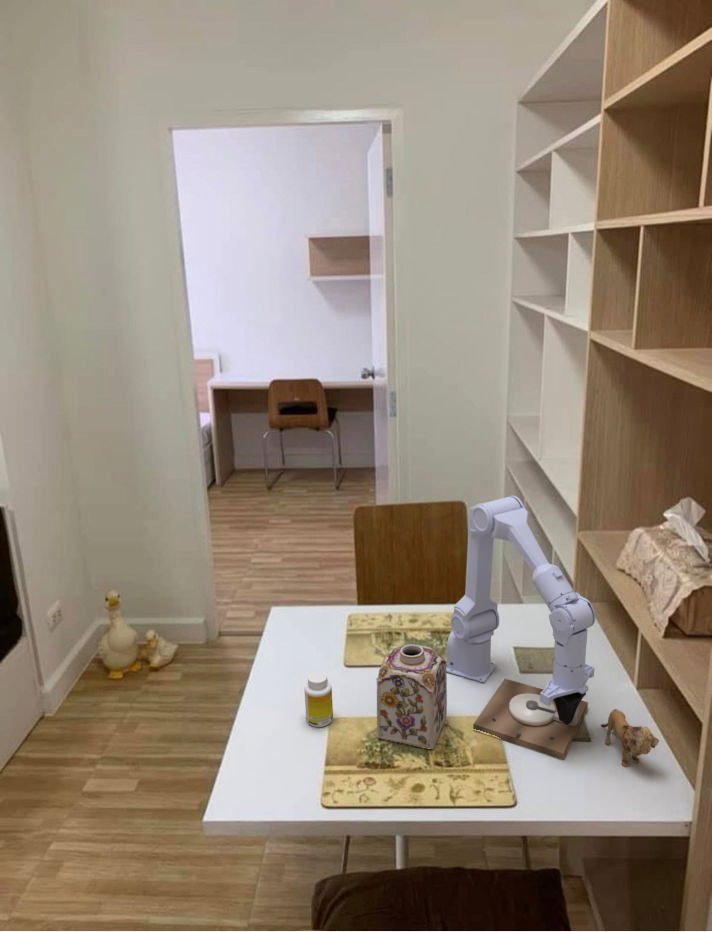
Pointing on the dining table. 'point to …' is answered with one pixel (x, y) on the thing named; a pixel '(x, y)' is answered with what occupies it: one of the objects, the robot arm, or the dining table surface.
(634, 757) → the lion figurine
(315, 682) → the supplement bottle
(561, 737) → the board
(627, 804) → the dining table surface
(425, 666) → the decorative jar
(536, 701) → the dial
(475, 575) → the robot arm
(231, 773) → the dining table surface
